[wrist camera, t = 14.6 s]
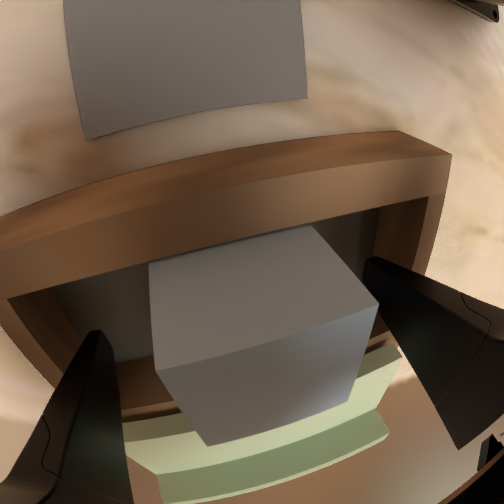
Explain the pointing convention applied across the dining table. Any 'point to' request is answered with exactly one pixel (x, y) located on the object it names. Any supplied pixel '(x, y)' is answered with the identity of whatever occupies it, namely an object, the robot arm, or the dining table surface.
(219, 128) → the dining table surface
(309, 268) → the block
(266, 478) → the cover
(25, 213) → the brown hollow rectangular piece
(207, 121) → the dining table surface
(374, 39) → the dining table surface
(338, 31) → the dining table surface
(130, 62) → the mat
